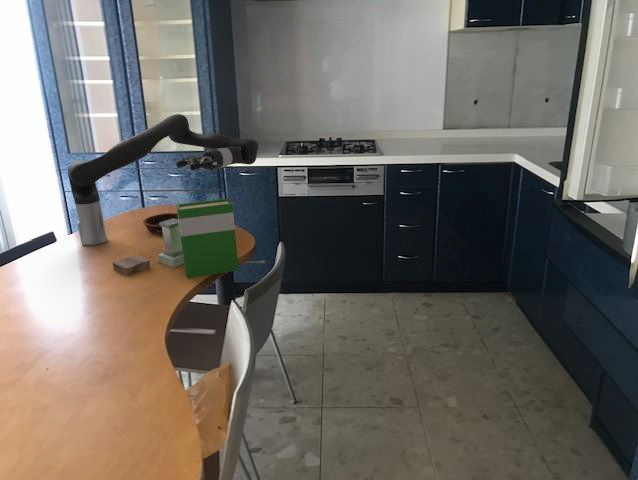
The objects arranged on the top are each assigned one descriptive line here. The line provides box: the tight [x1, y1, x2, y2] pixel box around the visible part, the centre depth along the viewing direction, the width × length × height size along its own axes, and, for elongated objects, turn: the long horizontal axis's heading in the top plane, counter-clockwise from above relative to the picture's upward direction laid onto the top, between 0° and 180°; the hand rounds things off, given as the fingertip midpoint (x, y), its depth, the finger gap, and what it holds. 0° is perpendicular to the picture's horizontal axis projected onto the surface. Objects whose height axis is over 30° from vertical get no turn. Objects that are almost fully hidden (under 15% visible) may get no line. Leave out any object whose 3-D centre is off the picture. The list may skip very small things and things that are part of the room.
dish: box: [142, 212, 178, 236], centre depth 220 cm, size 18×22×5 cm
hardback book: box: [175, 197, 240, 279], centre depth 173 cm, size 18×7×24 cm, turn 108°
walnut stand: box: [112, 254, 151, 278], centre depth 180 cm, size 9×9×3 cm
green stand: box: [157, 252, 184, 268], centre depth 185 cm, size 9×9×3 cm
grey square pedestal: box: [159, 218, 183, 258], centre depth 183 cm, size 6×6×12 cm
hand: (183, 166), depth 188 cm, fingers open, 8 cm apart
